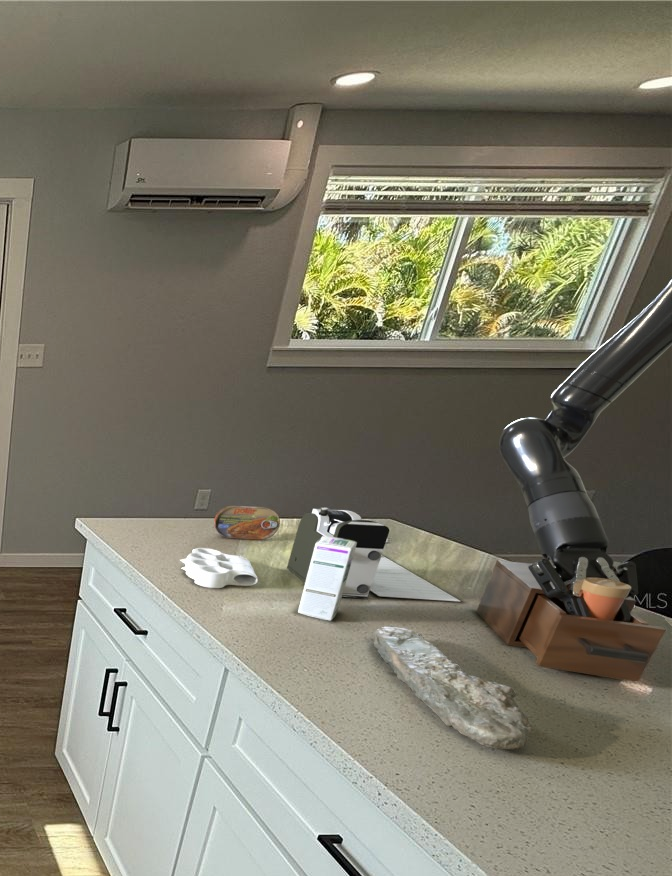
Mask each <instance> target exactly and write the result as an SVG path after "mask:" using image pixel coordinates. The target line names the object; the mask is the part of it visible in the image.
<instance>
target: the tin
mask: <svg viewBox="0 0 672 876" xmlns="http://www.w3.org/2000/svg"><path fill="white" fill-rule="evenodd" d="M280 525H281V519H280V516H279V514H278V513H277V511H275V510H274V509H271V508H269V507H264V506H244V505H242V506H241V505H229V506H226V507H223V508H221V509H220V510H219V511H218V512H217V513H216V514H215V516H214V520H213V527H214V529H215V530H216V532H217V534H219V535H220V536H221V537H223V538H226V539H235V540H236V539H238V540H255V541H262V540H267V539H269V538H271V537H273V536H274V535H275V534H276V533H277V532H278V530H279V529H280Z"/></svg>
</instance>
